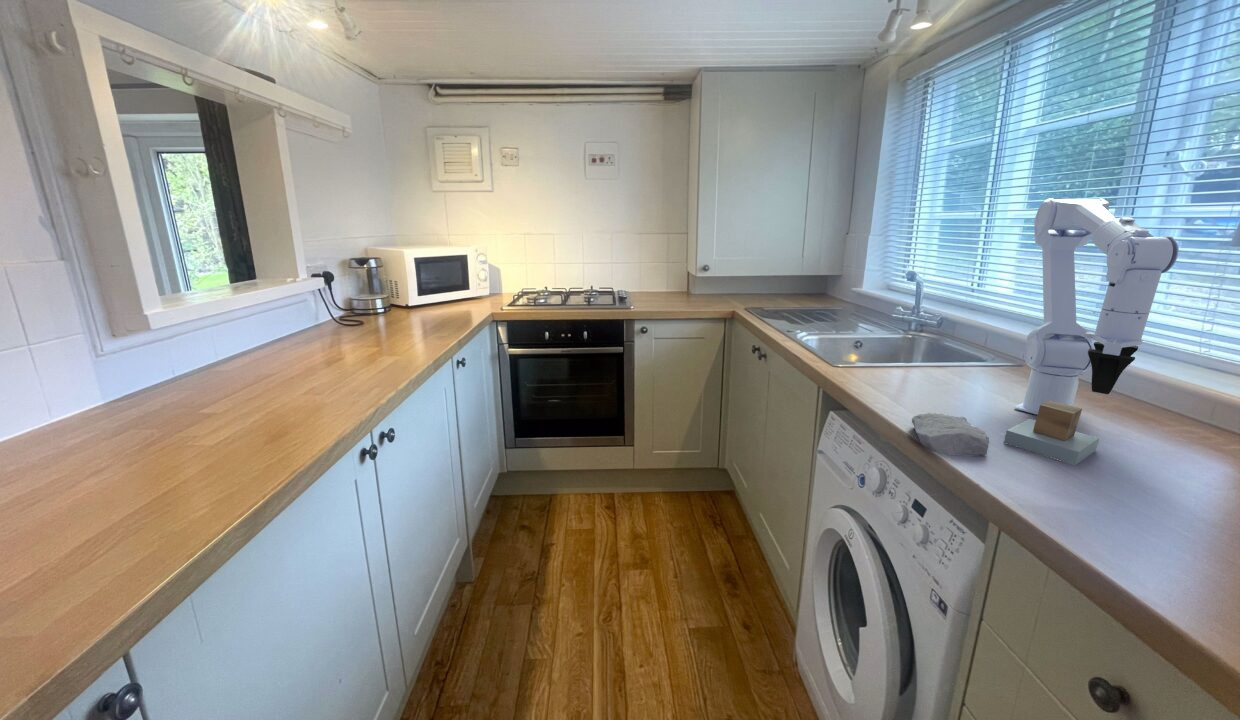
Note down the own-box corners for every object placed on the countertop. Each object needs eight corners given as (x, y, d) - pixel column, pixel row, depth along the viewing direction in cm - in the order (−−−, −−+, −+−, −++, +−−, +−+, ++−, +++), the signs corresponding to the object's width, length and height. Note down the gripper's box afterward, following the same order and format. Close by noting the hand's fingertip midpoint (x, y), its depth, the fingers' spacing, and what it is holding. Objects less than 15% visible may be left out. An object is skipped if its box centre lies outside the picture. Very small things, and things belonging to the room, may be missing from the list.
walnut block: (1042, 426, 90) (1049, 400, 89) (1074, 435, 87) (1082, 408, 85) (1032, 431, 88) (1040, 405, 86) (1064, 441, 84) (1073, 413, 83)
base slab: (1025, 433, 95) (1029, 418, 94) (1094, 453, 87) (1099, 437, 86) (1002, 445, 89) (1006, 430, 89) (1074, 468, 81) (1078, 451, 81)
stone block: (929, 463, 85) (994, 457, 83) (927, 437, 84) (993, 431, 82) (903, 437, 97) (960, 431, 95) (901, 413, 96) (959, 407, 94)
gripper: (1096, 303, 91) (1077, 374, 94) (1087, 312, 81) (1066, 391, 85) (1152, 308, 86) (1129, 383, 89) (1149, 318, 76) (1123, 402, 80)
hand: (1102, 387), depth 87 cm, fingers open, 7 cm apart
